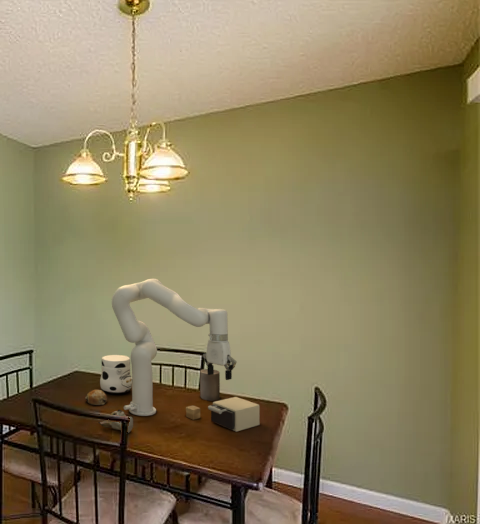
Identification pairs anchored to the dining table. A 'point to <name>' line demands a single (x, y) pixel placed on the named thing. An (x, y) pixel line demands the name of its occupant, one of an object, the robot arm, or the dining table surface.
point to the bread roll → (96, 397)
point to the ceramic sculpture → (116, 424)
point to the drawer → (222, 416)
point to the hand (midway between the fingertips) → (219, 376)
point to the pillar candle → (209, 385)
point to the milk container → (116, 374)
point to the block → (192, 412)
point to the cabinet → (241, 412)
